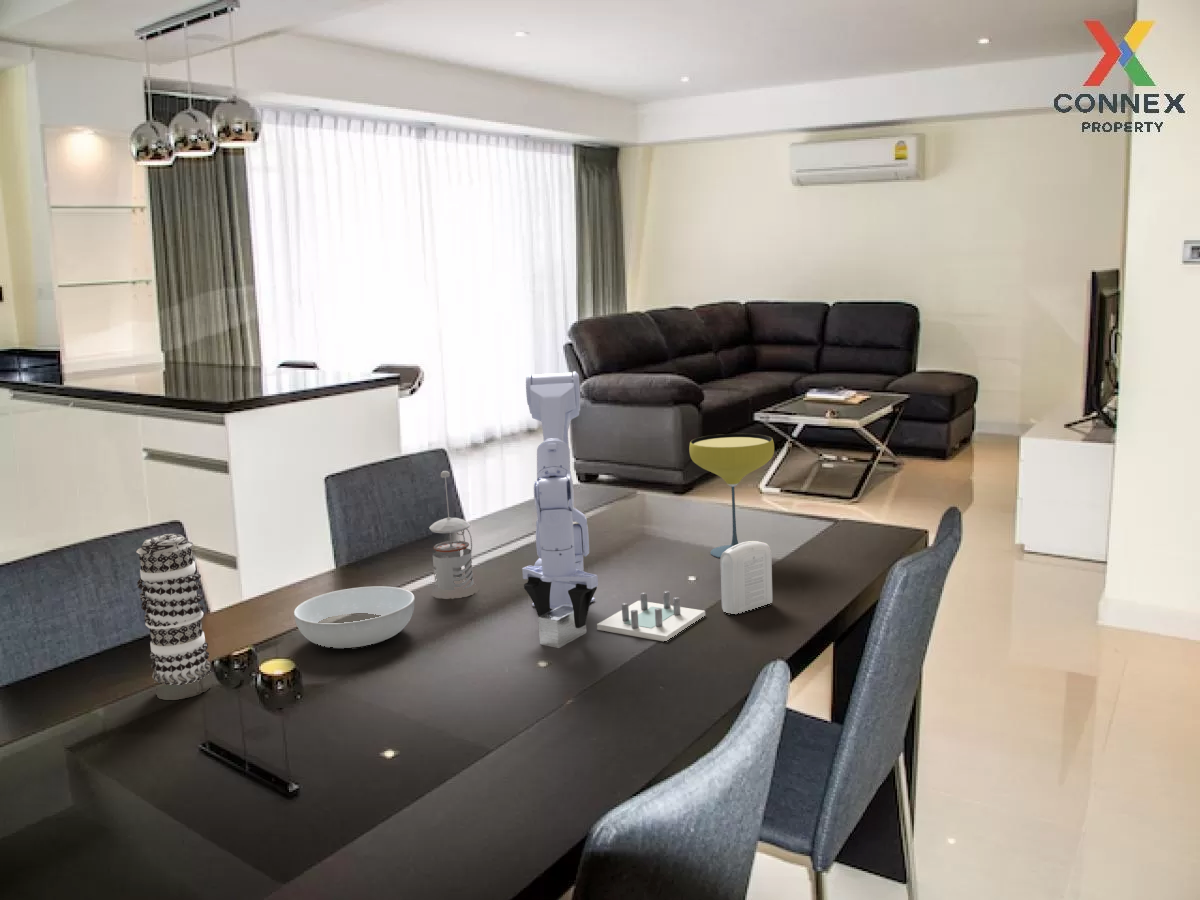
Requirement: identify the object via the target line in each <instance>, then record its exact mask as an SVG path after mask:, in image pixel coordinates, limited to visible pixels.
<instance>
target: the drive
mask: <svg viewBox="0 0 1200 900" xmlns="http://www.w3.org/2000/svg"><path fill="white" fill-rule="evenodd" d="M537 620H538V634H539V644H540V645H541V646H542V645H543V646H547V647H550V648H551V647H553V648H557V649H560V648H562V647H564V646H565V645H567V644H569V643H570V642H573V641H574V640H576V639H578V638H579V637H581V636H583V635H585V634H587V624H586V625H585V626H583V627H581V628H576V626H575V622H574V611H573V605H572V604H570V603H565V604H563V605H561V606H559V607H557V608H555V609H550V611H549V612H547V613H545V614H543V615H541V616H539V617H538V619H537Z"/></svg>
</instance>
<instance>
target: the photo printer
mask: <svg viewBox="0 0 1200 900" xmlns="http://www.w3.org/2000/svg"><path fill="white" fill-rule="evenodd" d="M719 559H720V561H719V563H720V597H721V599H720V600H721V610H723V613H724V612H726V613H731V614H735V615H737V614H738V613H739V614H743V613H746V612H745V611H747V612H749V611H748V610H750V611H753V610H752V609H754V610H756V609H755V608H757V609H759V608H758V607H761V606H764V605H767V604H770V603H773V568H772V567H773V566H772V565H773V562H772V561H773V560H772V559H773V558H772V550H771V548H770V546H769V544H768V543H766V542H763V541H762V542H761V541H757V540H751V541H748V540H747V541H743V542H738V544H737V545H734V546H732V547H730V548H729V549H727V550H726V551H724V552H723V553H722V555H721V558H719ZM770 605H771V604H770ZM764 607H765V606H764ZM761 608H762V607H761ZM742 612H743V613H742ZM726 613H725V614H726ZM739 614H738V615H739Z"/></svg>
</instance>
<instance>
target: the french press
mask: <svg viewBox="0 0 1200 900" xmlns="http://www.w3.org/2000/svg"><path fill="white" fill-rule="evenodd" d="M450 474H451V473H450V471H448V470H442V472H440V478H444V483H445V493H446V495H445V497H446V504H447V505H446V507H447V508H446V509H447V517H445V518H443V519H442V518H441V519H439V520H436V521H435V522H433V523H432V524H431V525H430V526H429V530H430V531H431V532H432V533H437V534H449V539H450V540H448V541H443V542H440V543H437V544H435V545H433V547H432V548H433V550H434V551H435V552H433V553H432V564H433V575H434V586H435V585H437V586H438V588H440V589H442V590H455V589H454V587H461V586H463V585H465V584H466V583H467V582H468V581H469V580H471V582H470V583H469V584H468V585H467V586H466V587H465V588H463V589H466V588H469V587H471V586H472V585H473V584H475V583H474V577H473V576H474V572H473V569H474V568H473V559H472V555H473V554H472V553H473V540H472V535H471V532H470V530H469V528H470V526H471V524H470V522H468V521H467V520H465V519H463V518H459V517H450V509H449V498H448V485H447V478H449V477H451V475H450ZM465 530H466V531H467V532H468V534H469V537H470V539H469V540H470V543H469V542H468V541H466V538H465ZM460 532H461V533H460ZM452 533H456V535H458V536H462V539H463V540H452ZM469 546H470V548H468V547H469ZM461 551H462V552H463V553H462V556H461ZM438 556H447V557H438ZM462 567H464V568H463V569H462ZM463 573H464V575H463ZM456 577H459V578H456ZM466 578H467V580H466ZM460 580H463V581H464V582H462V583H460V584H455V583H454V581H460Z"/></svg>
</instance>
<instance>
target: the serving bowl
mask: <svg viewBox="0 0 1200 900" xmlns="http://www.w3.org/2000/svg"><path fill="white" fill-rule="evenodd" d="M415 602H416V600H415V595H414V594H413V592H412V591H410V590H408V589H405V588H401V587H395V586H385V585H384V586H379V585H378V586H377V585H376V586H360V587H352V588H347V589H346V588H345V589H340V590H335V591H334V590H333V591H330V592H327V593H323V594H320V595H317V596H313V597H311V598H309V599H307V600H305V601H303V602H301V603H300V604H298V606H296V607H295V609H294V611H293V617H294V621H295V624H296V626H297V628H298V631H299V632H300V633H301V635H302V636H303V637H305V639H307V640H308V641H309V642H311V643H312V644H315V645H317V644H318V646H320V645H321V647H324V646H325V647H324V648H330V647H333V648H332V649H344V648H351V647H360V646H366V645H370V646H372V645H371V644H373V645H375V644H378V643H381V642H384V641H385V640H388V639H390V638H393V637H394V636H396V635H398V633H400V632H402V631H403V629H404V628H405V627H406V626H407V625H408V624H409V623H410V622H411V621H410V620H411V619H412V616H413V614H414V610H415ZM351 613H368V614H374V615H375V614H376V615H381V616H379V617H375V618H370V619H365V620H360V621H353V622H344V623H318V622H319V621H321V620H323V619H326V618H328V617H332V616H338V615H342V614H343V615H344V614H351ZM366 647H367V646H366Z"/></svg>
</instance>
